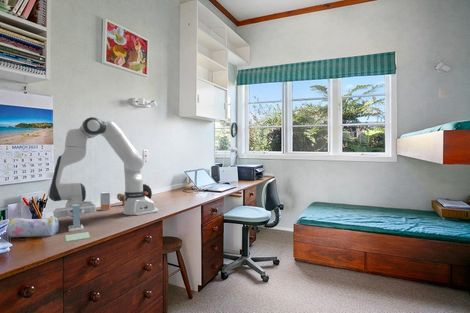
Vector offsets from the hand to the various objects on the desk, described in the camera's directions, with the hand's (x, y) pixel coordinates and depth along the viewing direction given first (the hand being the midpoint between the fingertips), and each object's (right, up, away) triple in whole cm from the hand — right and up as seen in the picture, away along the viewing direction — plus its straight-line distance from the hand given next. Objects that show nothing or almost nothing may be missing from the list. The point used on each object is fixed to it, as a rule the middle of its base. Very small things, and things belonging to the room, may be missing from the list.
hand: (76, 213), depth 148 cm
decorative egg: (+14, -6, +67) cm, 68 cm away
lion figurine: (+3, -6, +63) cm, 63 cm away
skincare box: (-7, -7, +48) cm, 49 cm away
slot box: (-1, -9, +1) cm, 9 cm away
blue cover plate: (0, -5, +1) cm, 6 cm away
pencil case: (-15, -9, -10) cm, 20 cm away
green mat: (+7, -9, -12) cm, 17 cm away
